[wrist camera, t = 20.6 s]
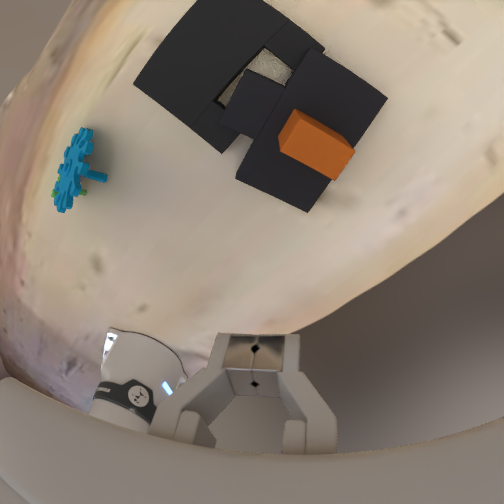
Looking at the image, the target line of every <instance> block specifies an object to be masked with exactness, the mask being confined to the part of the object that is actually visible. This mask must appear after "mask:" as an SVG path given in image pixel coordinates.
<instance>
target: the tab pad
mask: <svg viewBox="0 0 504 504" xmlns="http://www.w3.org/2000/svg"><path fill="white" fill-rule="evenodd" d="M387 99H388V98H387V97H386V96H385V95H383V94H382V93H381V92H379V91H378V90H377V89H375V88H374V87H372V86H371V85H370V84H368V83H367V82H366V81H364V80H363V79H361V78H360V77H358V76H357V75H355V74H354V73H352V72H351V71H349V70H348V69H346V68H345V67H343V66H342V65H340V64H339V63H337V62H335V61H334V60H332V59H330V58H329V57H327V56H325V55H324V54H322V53H320V52H318V51H317V50H315V49H313V48H311V47H310V48H308V49H307V50H306V52H305V53H304V55H303V57H302V58H301V60H300V62H299V63H298V65H297V66H296V68H295V70H294V71H293V73H292V75H291V76H290V78H289V80H288V81H287V83H286V85H285V86H283V85H281V84H279V83H277V82H275V81H273V80H271V79H269V78H267V77H265V76H263V75H260V74H258V73H256V72H254V71H252V70H249V69H246V70H245V72H244V74H243V76H242V78H241V80H240V81H239V83H238V85H237V87H236V89H235V91H234V93H233V95H232V97H231V99H230V101H229V103H228V105H227V107H226V109H225V111H224V113H223V115H222V117H221V119H220V121H219V124H222V125H224V126H226V127H228V128H231V129H233V130H235V131H237V132H240V133H242V134H244V135H246V136H248V137H250V138H253V139H254V141H253V143H252V144H251V146H250V148H249V150H248V152H247V154H246V155H245V157H244V159H243V161H242V163H241V165H240V167H239V169H238V170H237V172H236V177H235V179H237V180H239V181H241V182H243V183H246V184H248V185H250V186H252V187H254V188H257V189H259V190H261V191H263V192H265V193H267V194H269V195H272V196H274V197H276V198H278V199H280V200H282V201H284V202H286V203H288V204H290V205H292V206H295V207H297V208H299V209H301V210H303V211H305V212H307V213H308V212H309V211H310V209H311V208H312V206H313V205H314V204H315V202H316V201H317V199H318V198H319V197H320V195H321V194H322V192H323V191H324V190H325V188H326V187H327V185H328V184H329V183H330V181H331V180H334V181H335V180H336V179H337V177H338V176H339V174H340V173H341V172H342V170H343V169H344V167H345V166H346V164H347V163H348V162H349V160H350V159H351V157H352V156H353V155H354V153H355V150H354V149H353V148H354V147H355V146H356V144H357V143H358V141H359V140H360V138H361V137H362V136H363V134H364V133H365V131H366V130H367V128H368V127H369V125H370V124H371V122H372V121H373V120H374V118H375V117H376V115H377V114H378V112H379V111H380V109H381V108H382V106H383V105H384V103H385V102H386V100H387Z"/></svg>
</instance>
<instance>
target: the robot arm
mask: <svg viewBox="0 0 504 504" xmlns="http://www.w3.org/2000/svg"><path fill="white" fill-rule="evenodd" d="M102 359H103V360H104V361H103V363H102V365H101V367H100V368H101V383H100V384H99V386H98V388H97V389H96V391H95V395H94V397H93V399H94V402H93V404H92V406H91V409H90V411H89V413H88V414H86V413H83V412H81V411H78V410H76V409H74V408H71V407H69V406H67V405H65V404H62V403H60V402H58V401H56V400H54V399H52V398H50V397H48V396H46V395H44V394H42V393H40V392H38V391H36V390H34V389H32V388H30V387H28V386H26V385H24V384H23V383H21V382H19V381H18V380H16V379H14V378H11V377H7V378H5V379H3V380H1V381H0V504H504V417H501V418H499V419H497V420H494V421H491V422H489V423H486V424H483V425H480V426H478V427H475V428H472V429H469V430H465V431H462V432H459V433H456V434H453V435H449V436H445V437H441V438H438V439H433V440H430V441H425V442H420V443H415V444H410V445H405V446H400V447H394V448H387V449H380V450H373V451H364V452H354V453H341V454H337V418H336V417H335V415H334V414H333V412H332V411H331V410H330V408H329V407H328V406H327V404H326V403H325V402H324V400H323V399H322V398H321V396H320V395H319V394H318V392H317V391H316V390H315V388H314V387H313V385H312V384H311V383H310V381H309V380H308V378H307V377H306V376H305V374H304V373H303V372H300V335H299V334H258V335H253V334H234V333H218V334H217V336H216V338H215V342H214V345H213V348H212V352H211V355H210V358H209V362H208V365H207V368H204V367H203V368H202V369H200V370H199V371H198V372H197V373H196V374H195V375H193V376H192V377H191V378H190V379H189V380H187V379H188V377H187V376H186V374H185V373H184V372H183V370H182V364H181V362H180V360H179V359H178V357H177V356H176V355H175V354H174V353H173V352H172V351H171V350H170V349H168V348H167V347H166V346H164V345H163V344H161V343H159V342H158V341H156V340H154V339H152V338H149V337H147V336H144V335H141V334H137V333H131V332H121V331H119V330H116V329H112V328H110V329H109V330H108V332H107V336H106V341H105V346H104V351H103V357H102ZM182 383H184V384H183V385H181V386H180V387H179V388H178V389H177V387H178V385H179V384H182ZM235 395H238V396H260V397H276V398H280V399H281V401H282V403H283V404H284V406H285V408H286V410H287V411H288V413H289V415H290V417H291V419H292V420H288V421H287V422H286V423H285V425H284V434H283V442H282V451H281V454H264V453H252V452H251V453H250V452H240V451H233V450H224V449H217V448H215V445H216V438H215V437H214V436H213V434H212V433H211V431H210V430H209V428H208V426H209V425H210V424H211V423H212V421H214V420H215V418H216V417H217V416H218V415H219V414H220V413H221V412H222V411H223V410H224V409H225V408H226V406H227V405H228V404H229V403H230V402H231V401H232V400H233V399H234V398H235Z"/></svg>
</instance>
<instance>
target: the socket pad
mask: <svg viewBox="0 0 504 504" xmlns="http://www.w3.org/2000/svg"><path fill="white" fill-rule="evenodd" d="M265 47H266V48H267V49H268V50H269V51H271V52H272V53H273V54H274V55H276V56H277V57H278V58H279V59H281V60H282V61H283V62H284V63H285V64H287V65H288V66H289V67H290V68H291V69H293V70H295V68H296V66H297V65H298V63H299V62H300V60H301V58H302V57H303V55H304V53H305V52H306V50H307V49H308V48H310V47H311V48H313V49H315V50H317V51H318V52H320V53H322V52H323V51H324V50H325V48H324V47H323V46H322V45H320V44H319V43H318V42H317V41H316V40H315V39H313V38H312V37H311V36H310V35H309V34H307V33H306V32H305V31H304V30H302V29H301V28H300V27H299V26H297V25H296V24H295V23H294V22H292V21H291V20H290V19H288V18H287V17H286V16H284V15H283V14H281V13H280V12H279V11H277V10H276V9H274V8H273V7H272V6H270V5H269V4H267V3H266V2H264V1H263V0H197V1H196V2H195V3H194V5H193V6H192V7H191V8H190V9H189V10H188V11H187V12H186V13H185V15H184V16H183V17H182V18H181V19H180V20H179V22H178V23H177V24H176V25H175V26H174V28H173V29H172V30H171V31H170V33H169V34H168V35H167V36H166V38H165V39H164V40H163V42H162V43H161V44H160V45H159V47H158V48H157V49H156V51H155V52H154V54H153V55H152V56H151V58H150V59H149V61H148V62H147V63H146V65H145V66H144V68H143V69H142V71H141V72H140V74H139V75H138V77H137V78H136V80H135V81H134V83H133V85H135V86H136V87H137V88H139V89H140V90H141V91H143V92H144V93H145V94H147V95H148V96H149V97H151V98H152V99H153V100H155V101H156V102H157V103H159V104H160V105H161V106H163V107H164V108H165V109H166V110H168V111H169V112H170V113H172V114H173V115H174V116H175V117H177V118H178V119H179V120H181V121H182V122H183V123H184V124H186V125H187V126H188V127H189V128H191V129H192V130H193V131H194V132H196V133H197V134H198V135H199V136H200V137H202V138H203V139H204V140H205V141H207V142H208V143H209V144H210V145H212V146H213V147H214V148H215V149H216V150H218V151H219V152H220V153H221V154H222V153H223V152H224V151H225V150H226V149H227V148H228V147H229V145H230V144H231V143H232V142H233V141H234V140H235V139H236V138H237V137H238V135H239V134H240V132H237V131H235V130H233V129H231V128H228V127H226V126H224V125H222V124H219V121H220V119H221V117H222V115H223V113H224V111H225V109H226V107H225V106H224V105H223V104H221V103H220V102H219V101H218V100H217V99H218V97H219V96H220V95H221V94H222V93H223V92H224V91H225V89H226V88H227V87H228V86H229V85H230V84H231V83H232V82H233V80H234V79H235V78H236V77H237V76H238V75H239V74H240V73H241V72H242V71H243V70H244V68H245V67H246V66H247V65H248V64H249V63H250V62H251V61H252V60H253V59H254V58H255V57H256V56H257V55H258V54H259V53H260V52H261V51H262V50H263V49H264V48H265Z"/></svg>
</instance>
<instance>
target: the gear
mask: <svg viewBox="0 0 504 504" xmlns="http://www.w3.org/2000/svg"><path fill="white" fill-rule="evenodd" d="M92 137H93V130H90V129H88V128H87V129H85V128H83V127H81V129H80V131H79V134H75V135H74V136H73V138H72V141H71V147H67V148H66V150H65V152H64V158H65V159H64V164H60V166H59V169H58V174H60V175H59V177H58V181H56V184H55V188H54V189H53V191H52V195H51V197H53V198H54V205H55V206H57V211H58V212H62V213H65V210H66V209H71V208H72V205H73V196H75V197H77V196H78V195H79V194H80V195H84V196H85V195H86V192H87V191H86V190H83V189H81V184H80V182H81V181H82V180H83V179H84V177H86V178H89V179H93V180H96V181H100V182H103V183H105V182H106V181H107V178H108V175H106V174H103V173H99V172H96V171H93V170H89V166H90V165H89V164H88V163H85V162H84V158H85V155H86V154H88V155H90V154H91V153H92V151H93V147H94V143H92V142H89V141H91V139H92Z"/></svg>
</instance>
